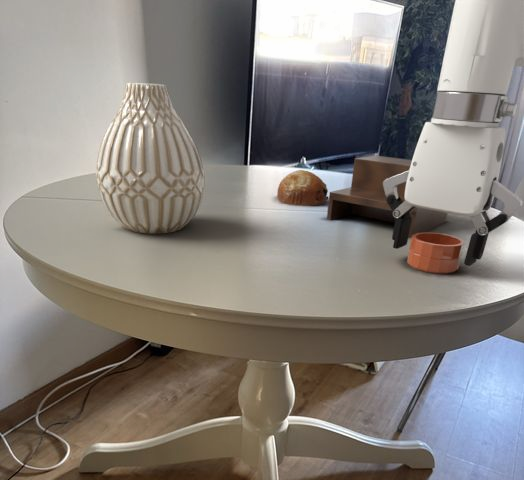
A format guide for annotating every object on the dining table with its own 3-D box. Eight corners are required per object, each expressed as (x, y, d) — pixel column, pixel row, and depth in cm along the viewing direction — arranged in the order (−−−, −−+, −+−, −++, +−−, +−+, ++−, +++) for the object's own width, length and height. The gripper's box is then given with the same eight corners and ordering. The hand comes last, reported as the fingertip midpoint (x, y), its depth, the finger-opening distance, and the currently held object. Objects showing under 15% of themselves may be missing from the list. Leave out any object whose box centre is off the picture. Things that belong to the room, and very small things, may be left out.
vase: (80, 226, 74) (60, 78, 65) (157, 211, 86) (151, 83, 76) (149, 248, 66) (139, 83, 57) (225, 228, 77) (227, 88, 68)
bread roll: (290, 212, 106) (277, 177, 103) (334, 196, 102) (322, 159, 99) (280, 222, 97) (265, 184, 95) (327, 205, 93) (314, 164, 90)
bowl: (463, 268, 65) (471, 239, 63) (447, 280, 61) (454, 249, 59) (417, 257, 69) (423, 229, 67) (398, 267, 64) (404, 238, 62)
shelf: (445, 223, 89) (458, 166, 84) (410, 239, 77) (423, 174, 73) (367, 208, 97) (375, 155, 92) (326, 220, 86) (333, 161, 81)
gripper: (554, 117, 54) (509, 264, 62) (409, 107, 63) (386, 236, 71) (541, 117, 48) (492, 277, 57) (384, 106, 57) (362, 246, 66)
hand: (433, 254), depth 64 cm, fingers open, 9 cm apart
